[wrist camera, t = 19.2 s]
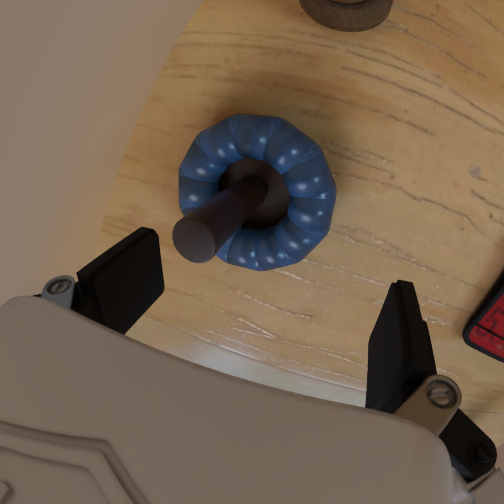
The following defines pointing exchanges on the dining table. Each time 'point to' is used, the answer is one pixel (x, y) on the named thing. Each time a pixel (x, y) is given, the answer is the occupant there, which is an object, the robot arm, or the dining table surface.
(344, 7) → the mortar and pestle
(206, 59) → the dining table surface
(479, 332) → the ink pad
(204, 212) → the stand
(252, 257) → the blue ring
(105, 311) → the robot arm
